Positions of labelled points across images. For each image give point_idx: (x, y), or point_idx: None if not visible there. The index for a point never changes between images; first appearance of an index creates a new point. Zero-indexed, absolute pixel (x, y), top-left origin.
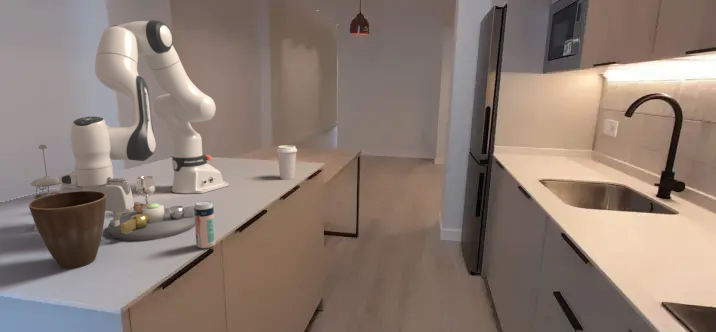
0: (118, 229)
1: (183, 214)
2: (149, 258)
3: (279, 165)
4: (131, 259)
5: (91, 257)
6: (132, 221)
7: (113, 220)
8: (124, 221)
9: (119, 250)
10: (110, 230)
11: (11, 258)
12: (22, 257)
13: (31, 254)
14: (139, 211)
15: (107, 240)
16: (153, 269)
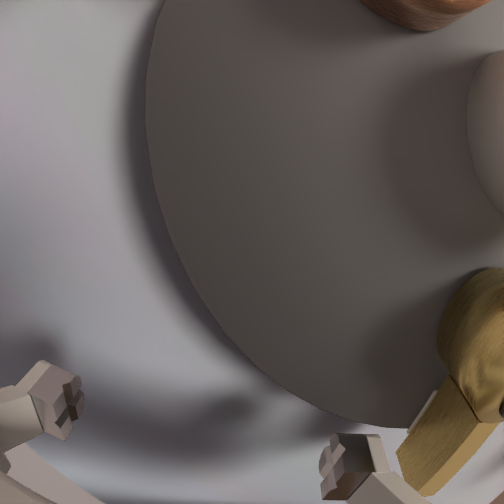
0: (341, 375)
1: None
2: (480, 476)
3: None
4: (438, 492)
5: None
6: (479, 441)
7: (354, 502)
8: (293, 150)
9: (393, 470)
10: (279, 381)
11: (64, 471)
12: (83, 475)
13: (84, 466)
14: (421, 2)
15: (289, 401)
16: (480, 498)
